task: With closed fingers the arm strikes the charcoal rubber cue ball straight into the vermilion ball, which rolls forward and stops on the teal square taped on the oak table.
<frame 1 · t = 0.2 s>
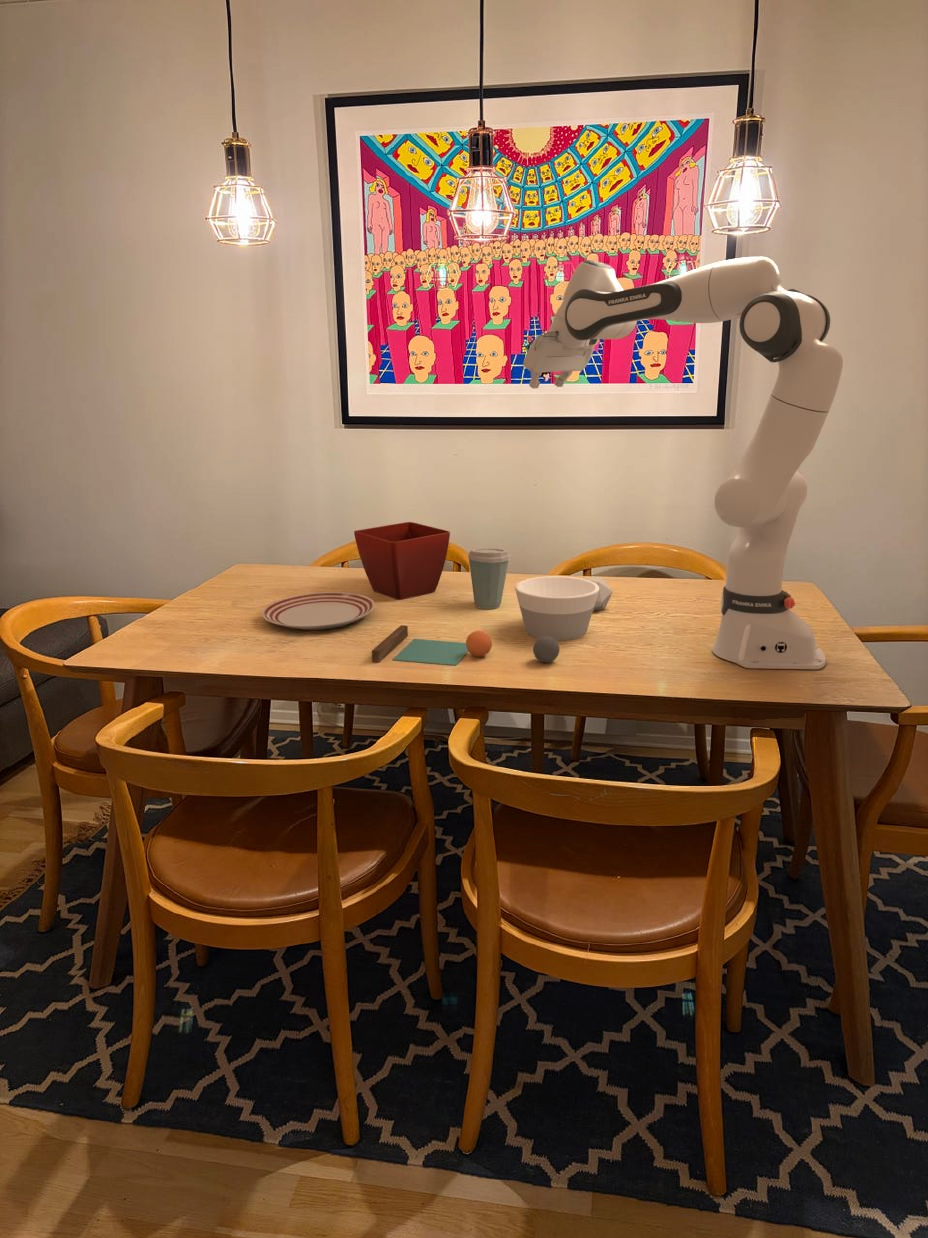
hand: (545, 386, 200), 54 cm above the table, tool tilted 30°, fingers open, 8 cm apart
ball b: (478, 643, 178), on the table
mark: (434, 652, 182), on the table
dinner plate: (319, 620, 207), on the table
plant pot: (403, 592, 229), on the table
bowl: (556, 631, 195), on the table
disposable coffee cup: (489, 606, 215), on the table
ball a: (546, 649, 175), on the table
die: (593, 609, 212), on the table
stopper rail: (390, 648, 184), on the table
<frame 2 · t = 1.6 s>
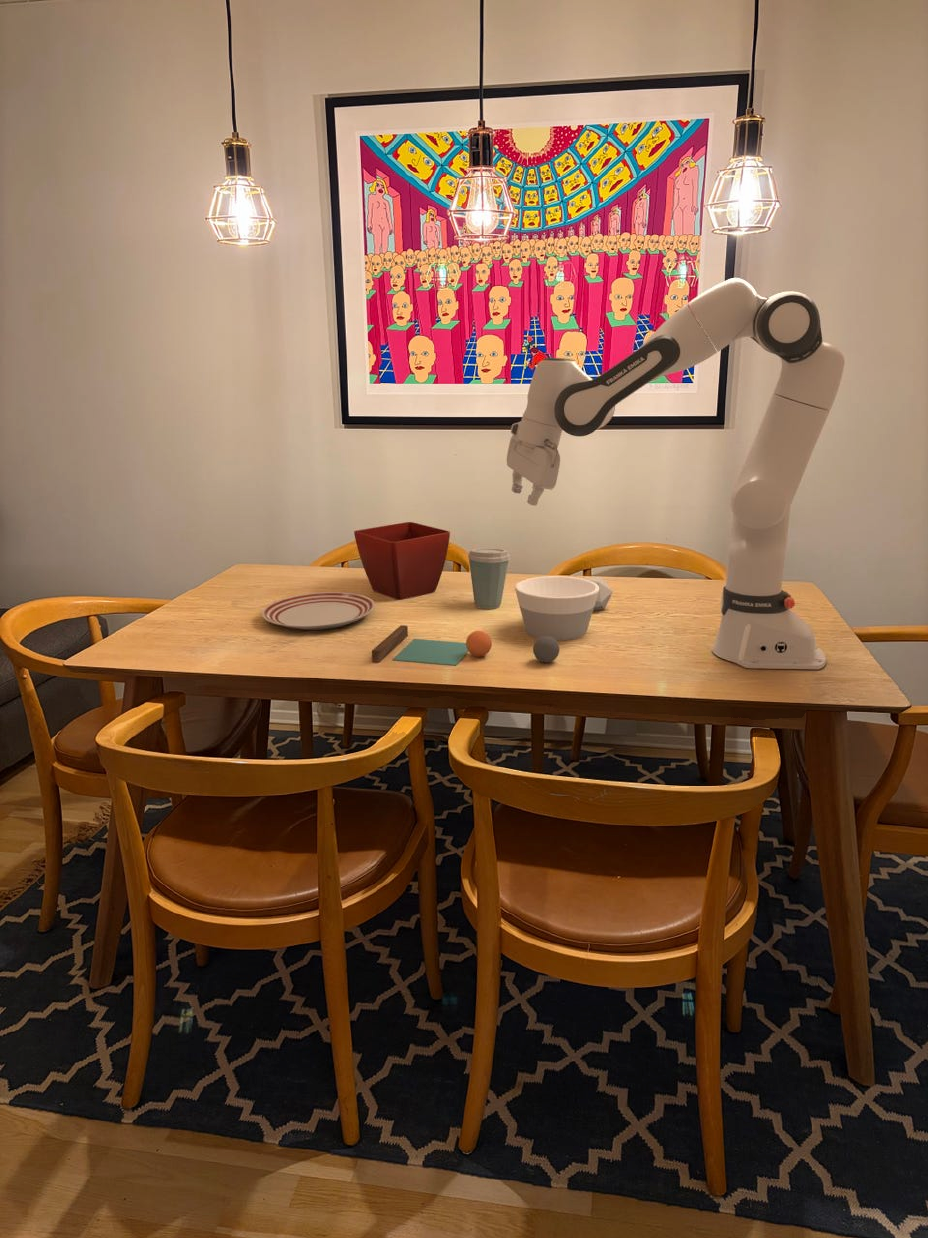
hand: (523, 498, 182), 32 cm above the table, tool pointing down, fingers open, 8 cm apart
nothing on the table moved.
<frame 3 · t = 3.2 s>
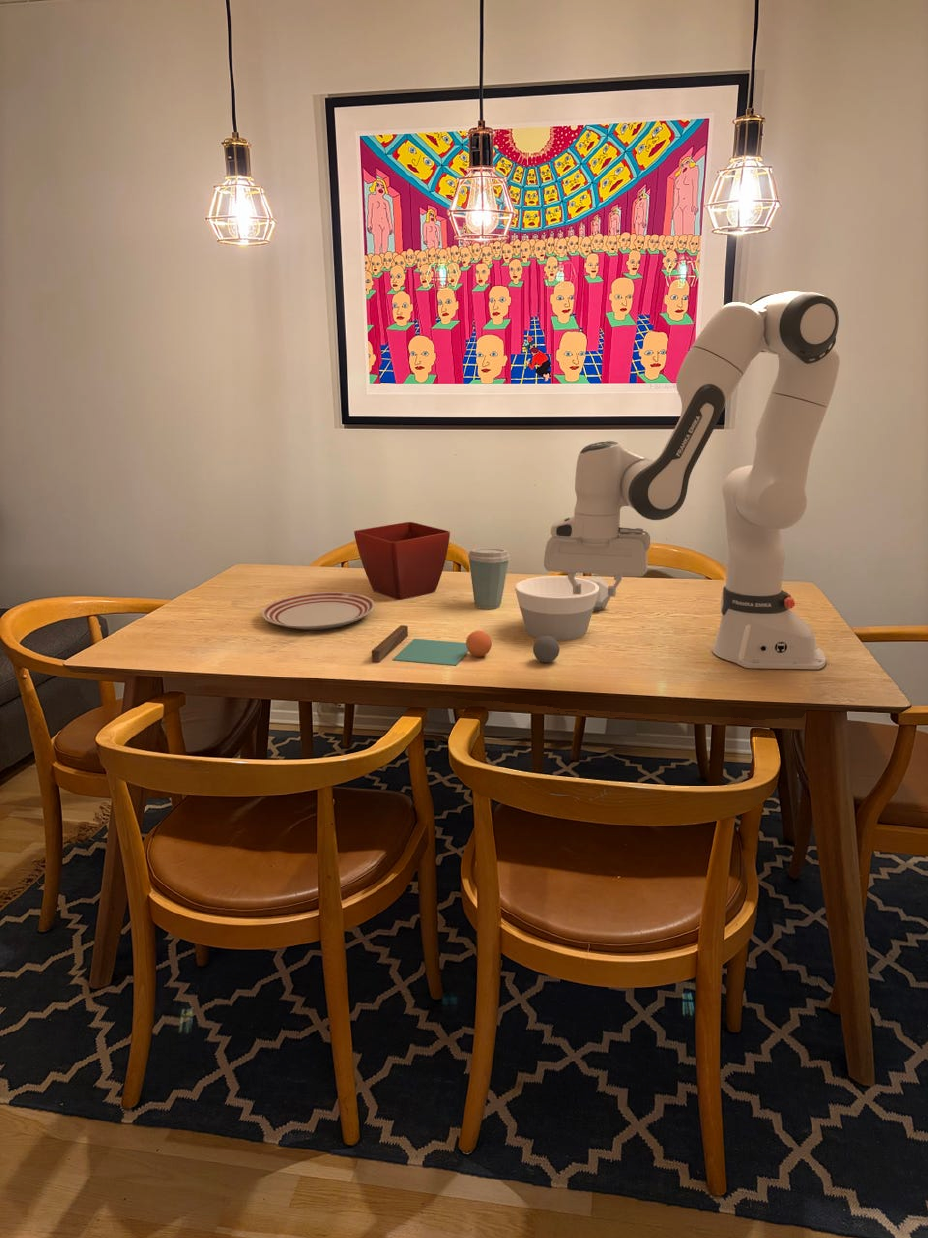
hand: (594, 594, 168), 15 cm above the table, tool pointing down, fingers open, 5 cm apart
nothing on the table moved.
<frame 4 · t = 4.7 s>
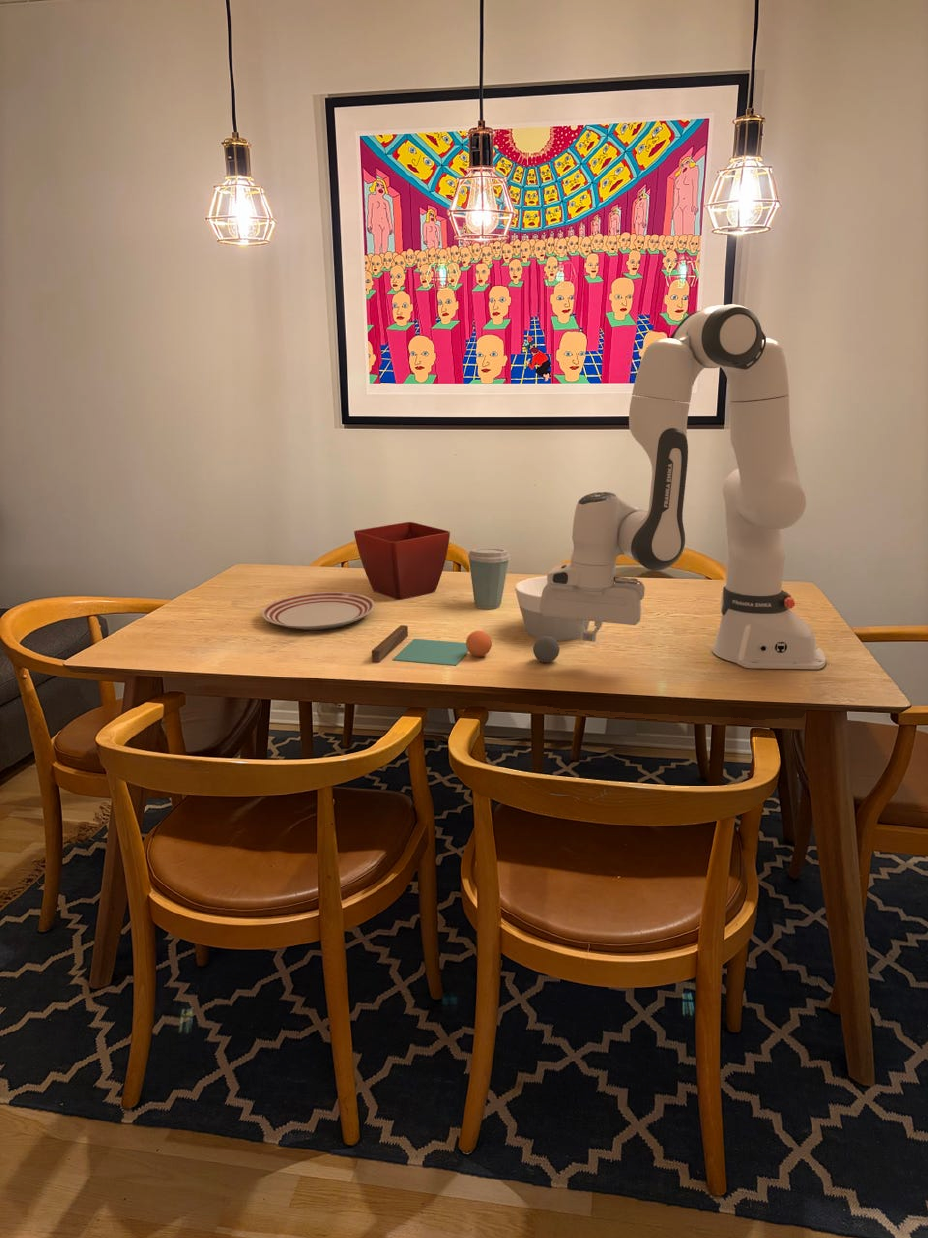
hand: (588, 640, 172), 5 cm above the table, tool pointing down, fingers closed
nothing on the table moved.
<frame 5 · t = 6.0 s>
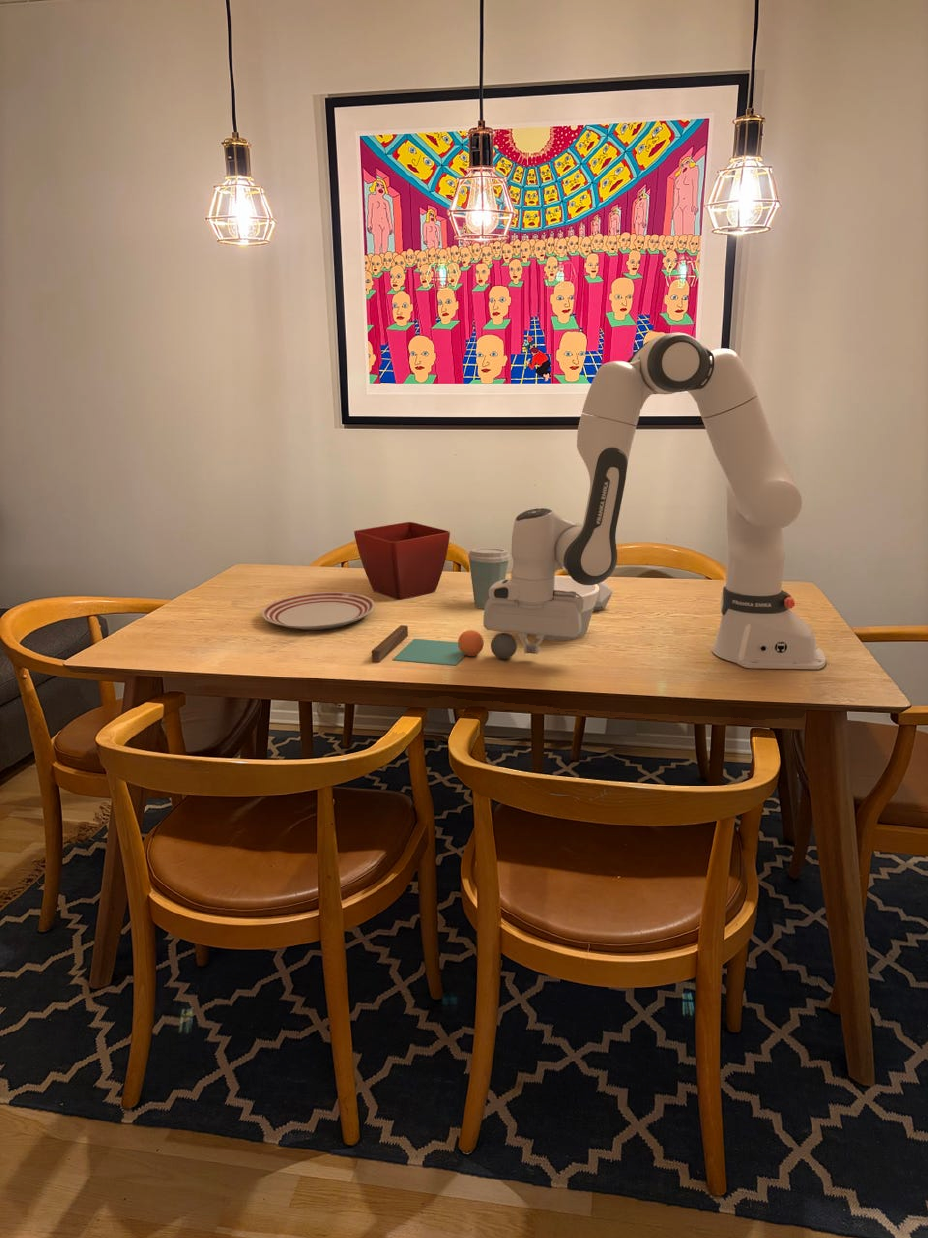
hand: (531, 652, 176), 2 cm above the table, tool pointing down, fingers closed
ball b: (470, 643, 179), on the table
ball a: (503, 645, 177), on the table
everything else where it was.
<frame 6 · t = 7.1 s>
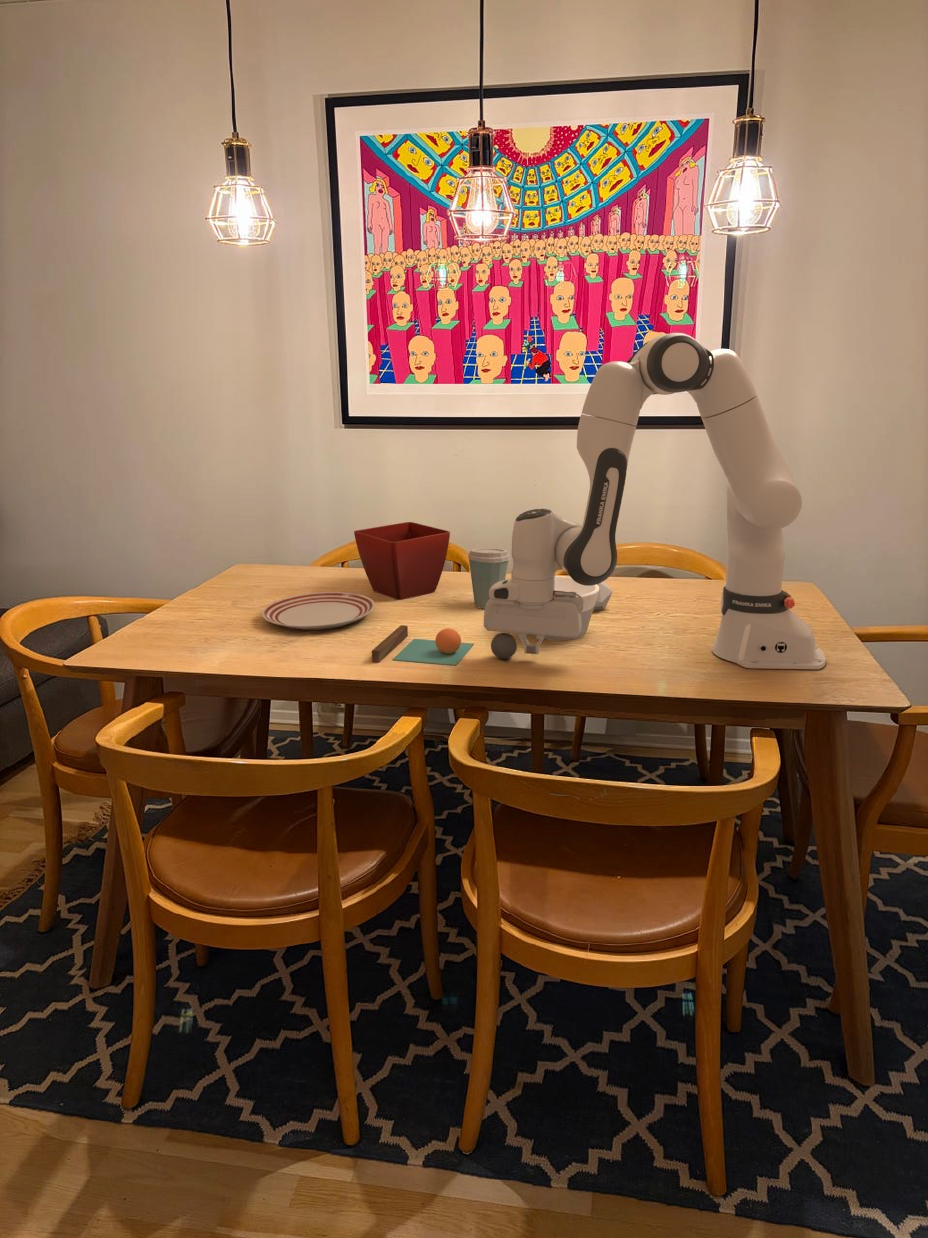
hand: (531, 653, 176), 2 cm above the table, tool pointing down, fingers closed
ball b: (448, 641, 180), on the table
everything else where it was.
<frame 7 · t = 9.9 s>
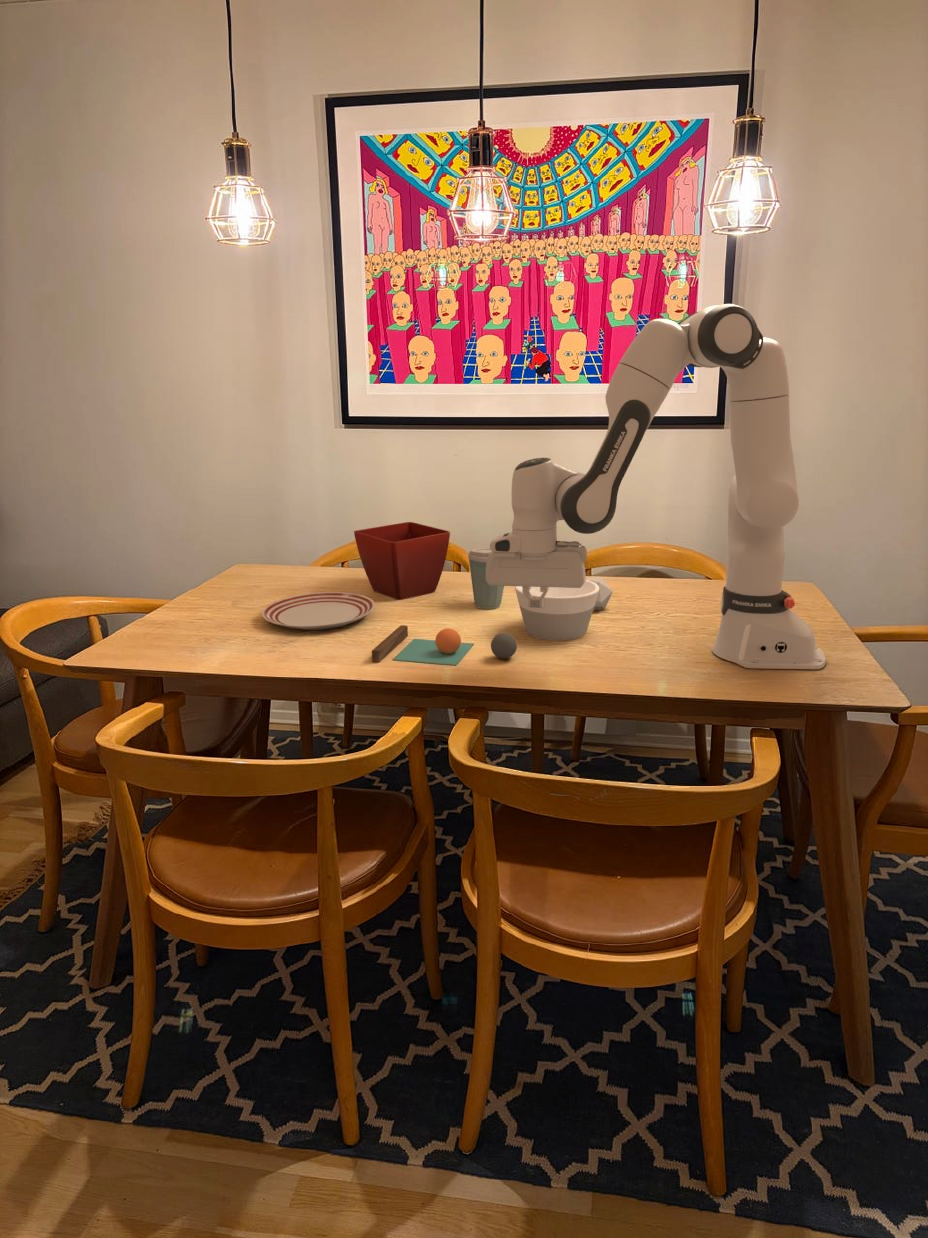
hand: (535, 606, 173), 12 cm above the table, tool pointing down, fingers closed
nothing on the table moved.
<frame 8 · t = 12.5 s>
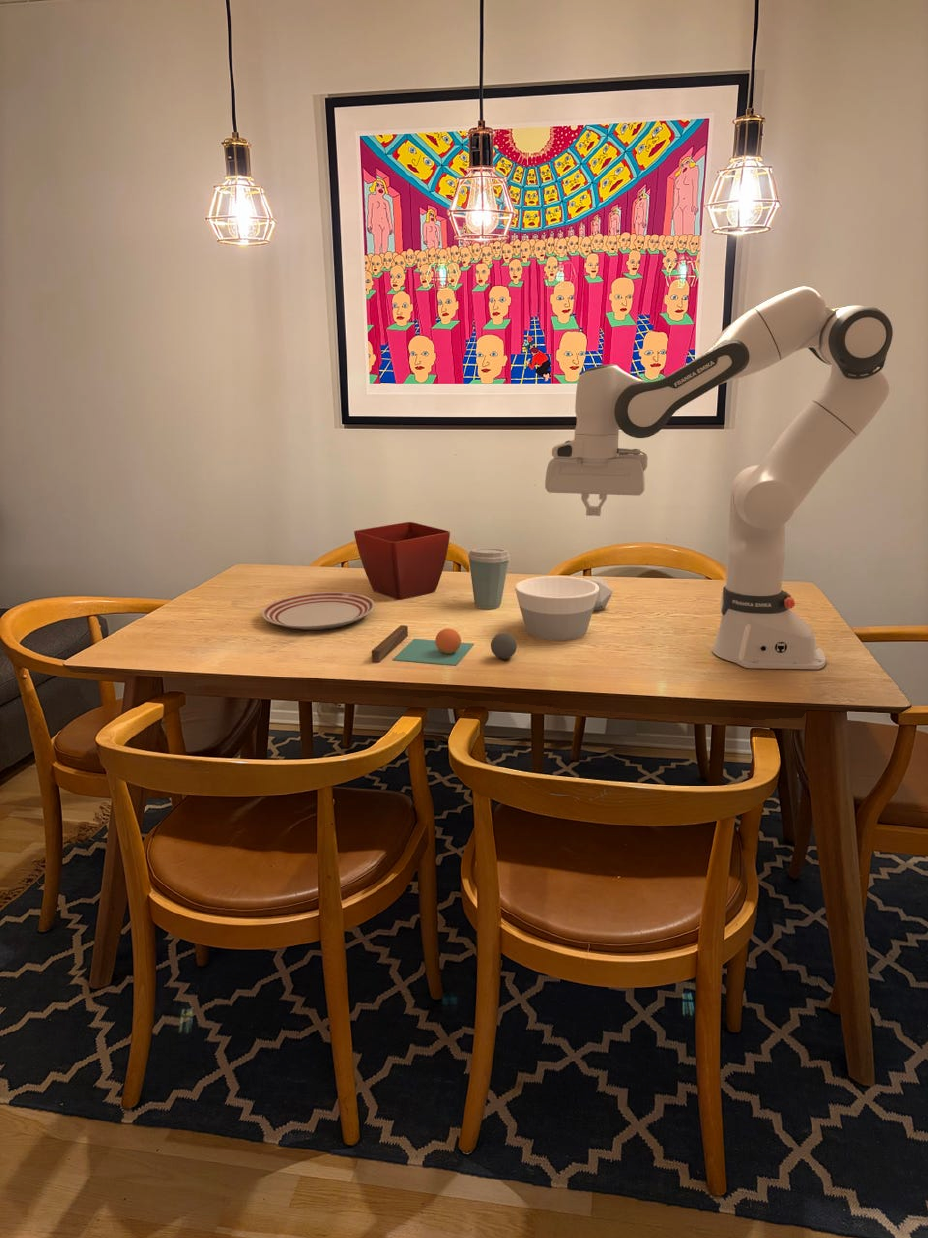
hand: (593, 515, 175), 29 cm above the table, tool pointing down, fingers closed
nothing on the table moved.
at the end: ball b 3.2 cm from the mark (horizontally); ball b never touched the robot; ball a first touched ball b at 5.8 s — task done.
